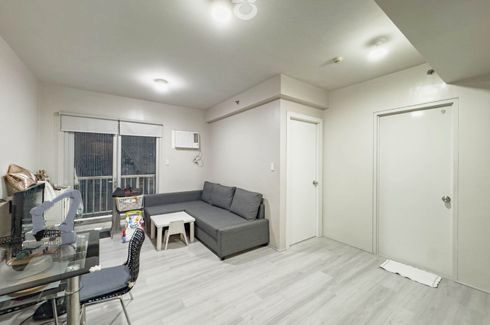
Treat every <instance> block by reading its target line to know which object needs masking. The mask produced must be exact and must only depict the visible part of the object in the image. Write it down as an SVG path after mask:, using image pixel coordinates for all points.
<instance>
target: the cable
mask: <svg viewBox="0 0 490 325" xmlns="http://www.w3.org/2000/svg"><path fill="white" fill-rule="evenodd" d="M56 240H57V235H54V236H50V237H46V238H44V237H43V239H41V241H38V242H37V241H36V240H32V241H30V240H28V241H26V240H24V241H23V242H22V247H24V246H26V245H31V244H36V243H42V242H44V243H47V242H54V241H56ZM26 247H27V246H26Z"/></svg>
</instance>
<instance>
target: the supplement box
mask: <svg viewBox="0 0 490 325" xmlns="http://www.w3.org/2000/svg"><path fill="white" fill-rule="evenodd" d="M24 237H25V241H28V240H30V241H32V240H36V239H35V237H34V236H33V235H32V231H31V230H30V231H27V232H25V233H24ZM44 244H45V242H42V243H36V244H31V245H26V248H27V249H36V248H38V247H40V246H43V245H44Z"/></svg>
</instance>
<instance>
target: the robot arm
mask: <svg viewBox="0 0 490 325" xmlns="http://www.w3.org/2000/svg"><path fill="white" fill-rule="evenodd" d="M81 194H82V192H80V190H78V189H71V188H70V189H67V190H66V191H64V192H63V193H61V194H59V195H57V196H56V197H54V198H52V199H51V200H49V199H48V200H44V201H43V202H42V203H41V204H39V205H36V206H35V207H32V208H31V209H30V211H29V214H30V215H31V221H32V229H31V230H30V231H32V235H33V236H34V237H35V239H36V241H37V242H38V241H41V239H44V236H45V232H46V230H47V229H46V225H45V224H44V216H43V215H44V212H46V211H47V210H49V209H50V208H52V207H54V205H55V204H56V203H58V202H60V201H62V200H63V199H65V198H69V199H70V200H71V204H70V207H69V209H68V211H67V214H66V216H65V218H64V220H63V221H62V222H61V224H60V225H59V226H58V230H59V231H60V239H61V242H60V244H59V245H62V244H63V245H66V243H67V244H72V243H75V242H76V241H77V240H78V238H77V231H76V230H74V224H75V222H74V219H75V216H76V214H77V211H78V209H79V206H80V204H81V203H82V197H81Z"/></svg>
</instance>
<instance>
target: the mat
mask: <svg viewBox="0 0 490 325" xmlns="http://www.w3.org/2000/svg"><path fill="white" fill-rule="evenodd" d="M63 245H64V244H61V245H60V244H59V245H52V246H47V247H48V249H53V248H58V249H59V248H61V247H62V246H63ZM43 249H45V247H39V248H37V249H36V248H34V249H31V250H32V252H37V251H43ZM45 250H46V249H45ZM29 253H30V252H29Z"/></svg>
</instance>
